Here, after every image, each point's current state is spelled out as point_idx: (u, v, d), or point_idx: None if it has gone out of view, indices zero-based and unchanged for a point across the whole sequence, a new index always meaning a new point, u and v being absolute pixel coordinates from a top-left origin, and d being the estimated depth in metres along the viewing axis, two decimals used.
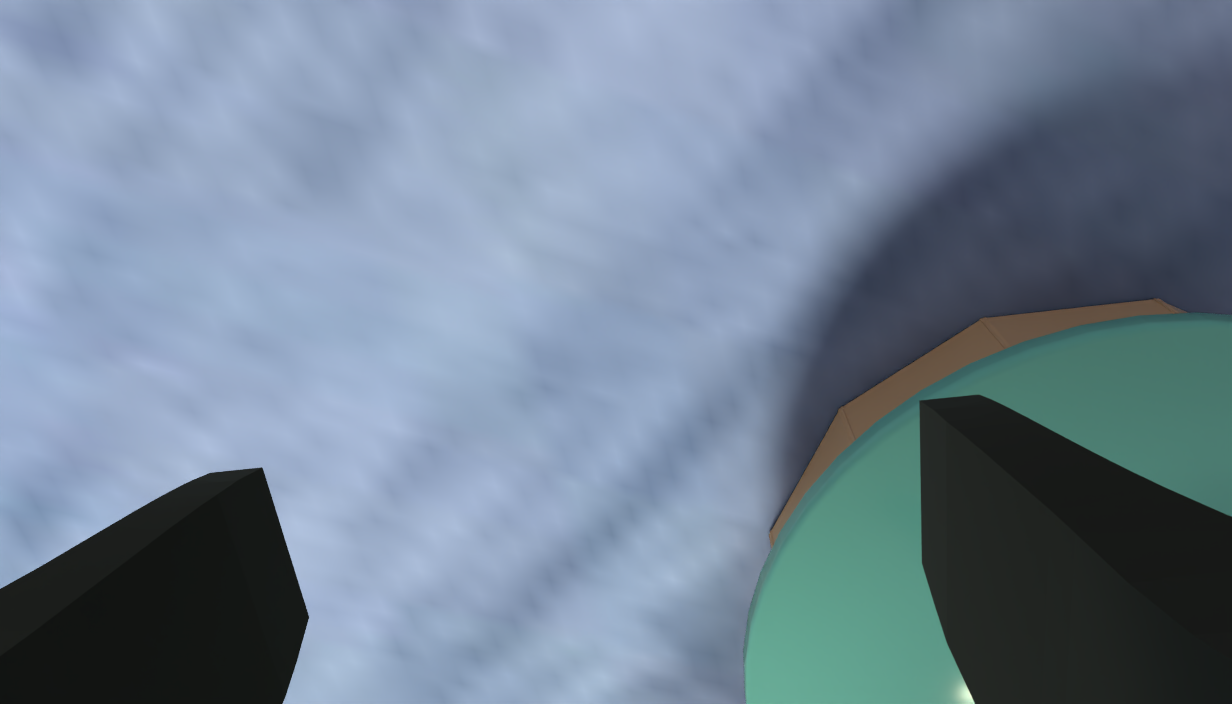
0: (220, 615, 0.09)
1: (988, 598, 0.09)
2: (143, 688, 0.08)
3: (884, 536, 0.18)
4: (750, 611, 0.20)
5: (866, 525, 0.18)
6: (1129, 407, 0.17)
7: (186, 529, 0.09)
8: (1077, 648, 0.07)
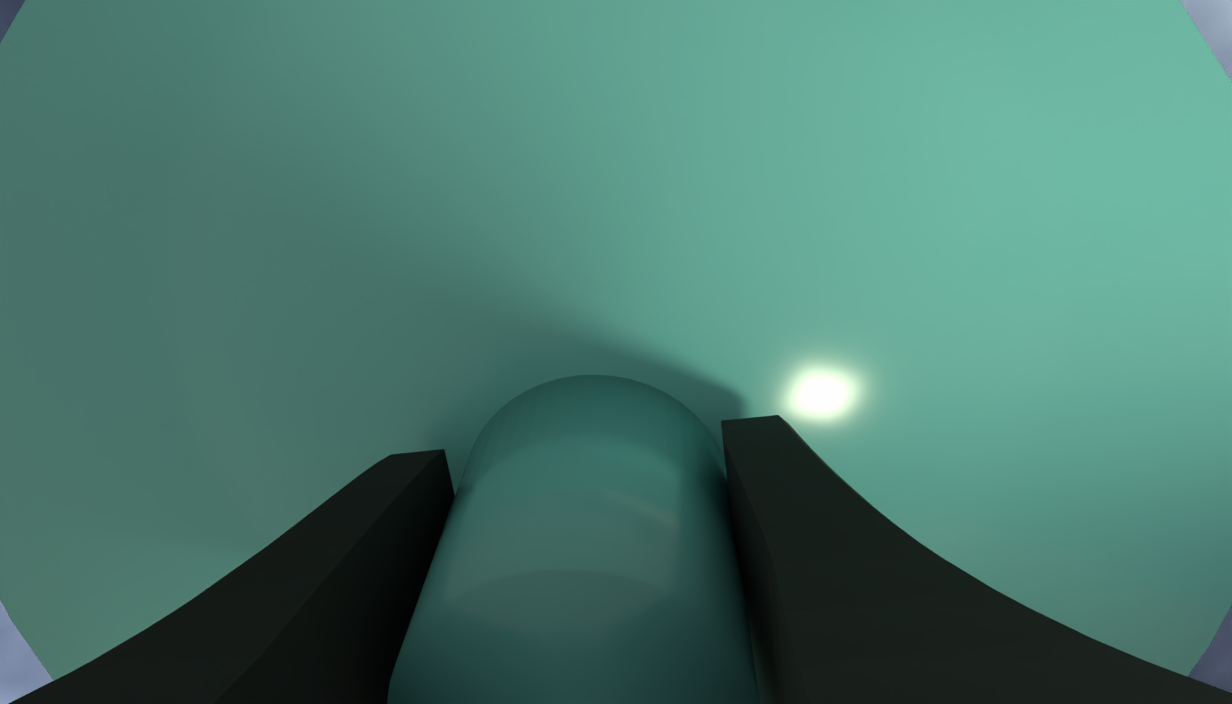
0: None
1: (753, 617, 0.09)
2: (374, 669, 0.08)
3: None
4: None
5: None
6: (93, 575, 0.12)
7: (399, 508, 0.09)
8: (782, 672, 0.07)
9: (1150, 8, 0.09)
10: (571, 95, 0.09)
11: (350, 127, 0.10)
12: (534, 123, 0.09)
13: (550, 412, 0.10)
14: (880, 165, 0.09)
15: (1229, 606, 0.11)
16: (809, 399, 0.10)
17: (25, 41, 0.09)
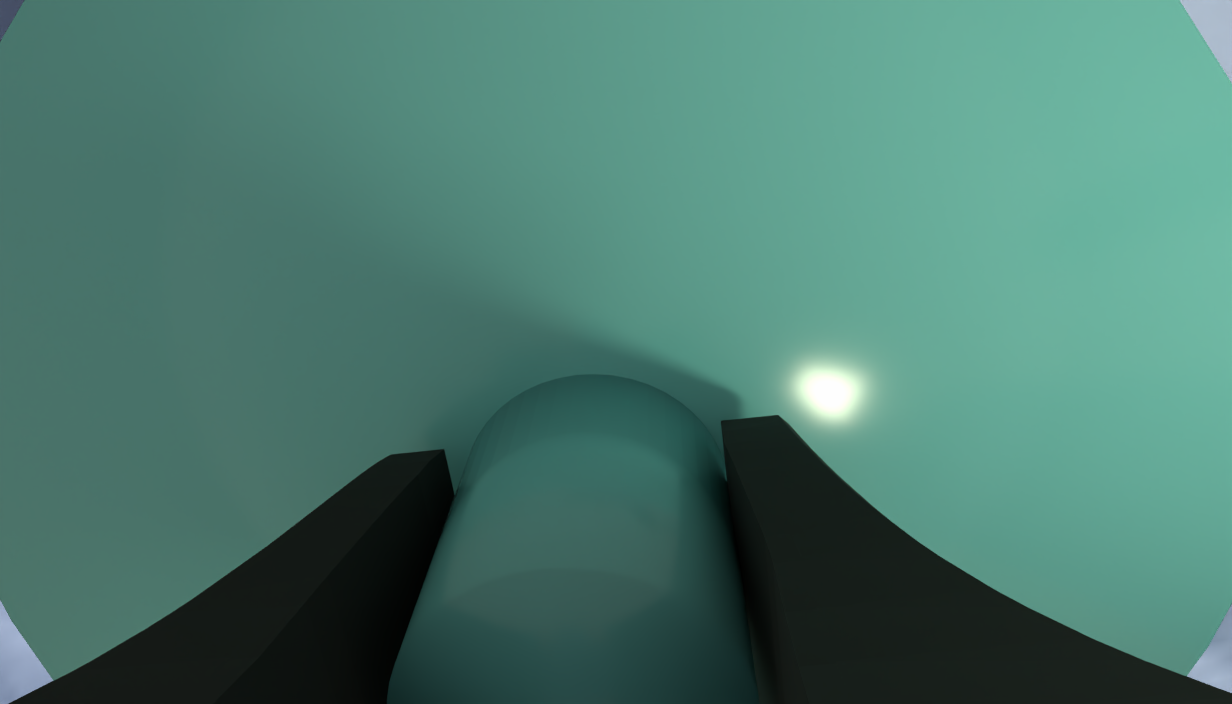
0: None
1: (755, 618, 0.09)
2: (374, 669, 0.08)
3: None
4: None
5: None
6: (94, 574, 0.12)
7: (399, 508, 0.09)
8: (783, 672, 0.07)
9: (1149, 7, 0.09)
10: (570, 95, 0.09)
11: (350, 127, 0.10)
12: (535, 123, 0.09)
13: (549, 412, 0.10)
14: (879, 164, 0.09)
15: (1229, 605, 0.11)
16: (808, 398, 0.10)
17: (24, 41, 0.09)
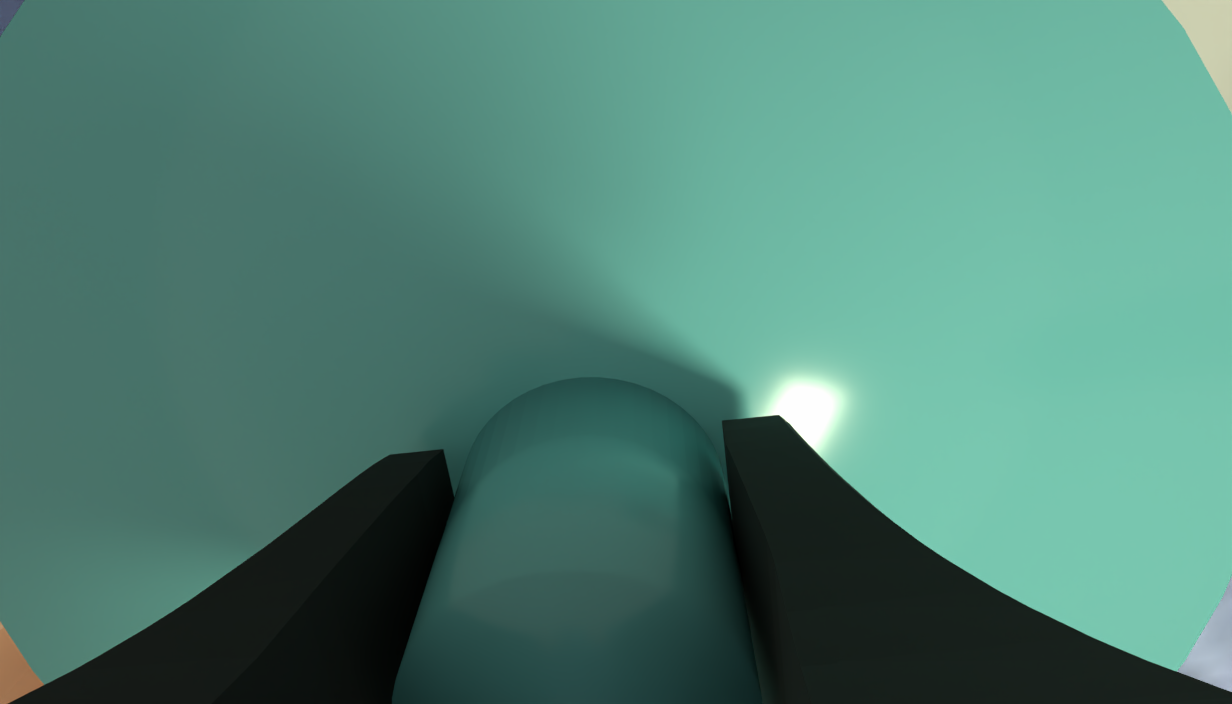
0: None
1: (755, 618, 0.09)
2: (372, 669, 0.08)
3: None
4: None
5: None
6: (80, 564, 0.12)
7: (398, 509, 0.09)
8: (784, 672, 0.07)
9: (1156, 36, 0.09)
10: (587, 99, 0.09)
11: (364, 122, 0.10)
12: (549, 126, 0.09)
13: (554, 413, 0.10)
14: (889, 179, 0.10)
15: (1206, 621, 0.12)
16: (808, 408, 0.11)
17: (35, 22, 0.09)
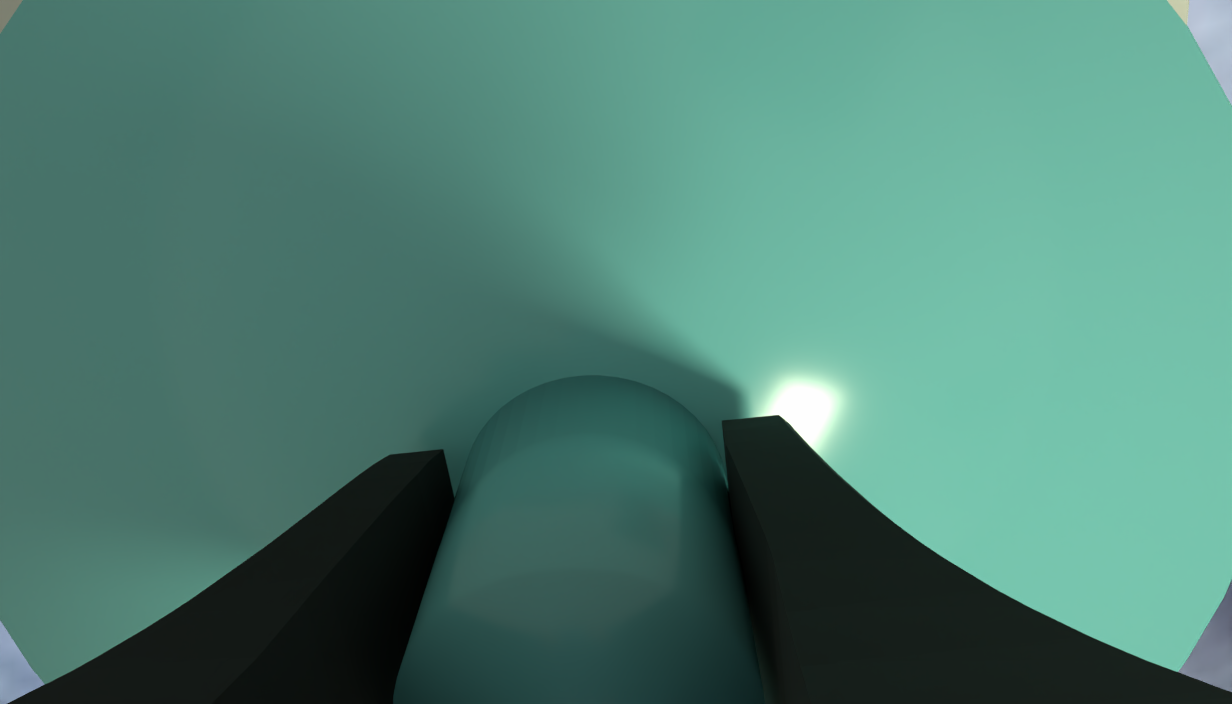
0: (422, 597, 0.09)
1: (755, 618, 0.09)
2: (373, 669, 0.08)
3: None
4: None
5: None
6: (79, 560, 0.12)
7: (398, 508, 0.09)
8: (783, 672, 0.07)
9: (1161, 36, 0.09)
10: (590, 96, 0.09)
11: (367, 118, 0.09)
12: (553, 122, 0.09)
13: (556, 411, 0.10)
14: (893, 178, 0.10)
15: (1207, 622, 0.12)
16: (810, 407, 0.11)
17: (37, 17, 0.09)
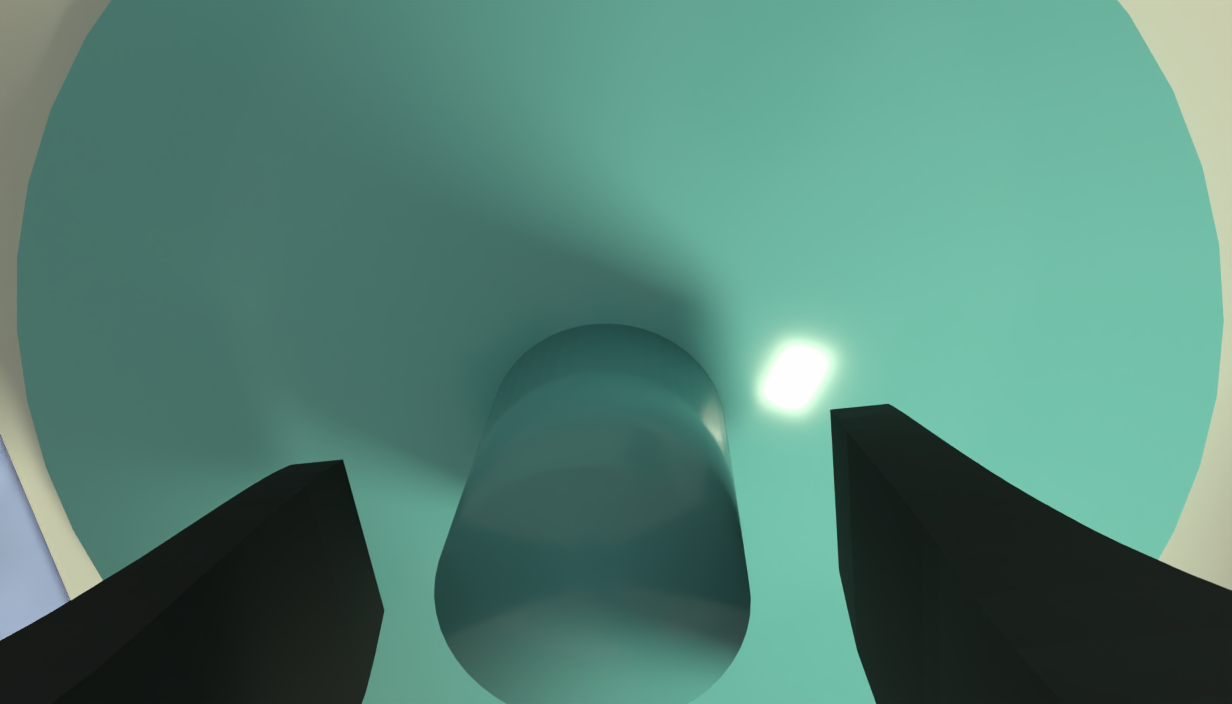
0: (310, 607, 0.09)
1: (882, 607, 0.09)
2: (245, 679, 0.08)
3: None
4: None
5: None
6: (152, 489, 0.13)
7: (280, 520, 0.09)
8: (944, 659, 0.07)
9: (1106, 23, 0.10)
10: (605, 75, 0.11)
11: (411, 93, 0.11)
12: (572, 99, 0.11)
13: (574, 352, 0.11)
14: (870, 148, 0.11)
15: (1159, 555, 0.13)
16: (799, 353, 0.12)
17: (129, 5, 0.11)
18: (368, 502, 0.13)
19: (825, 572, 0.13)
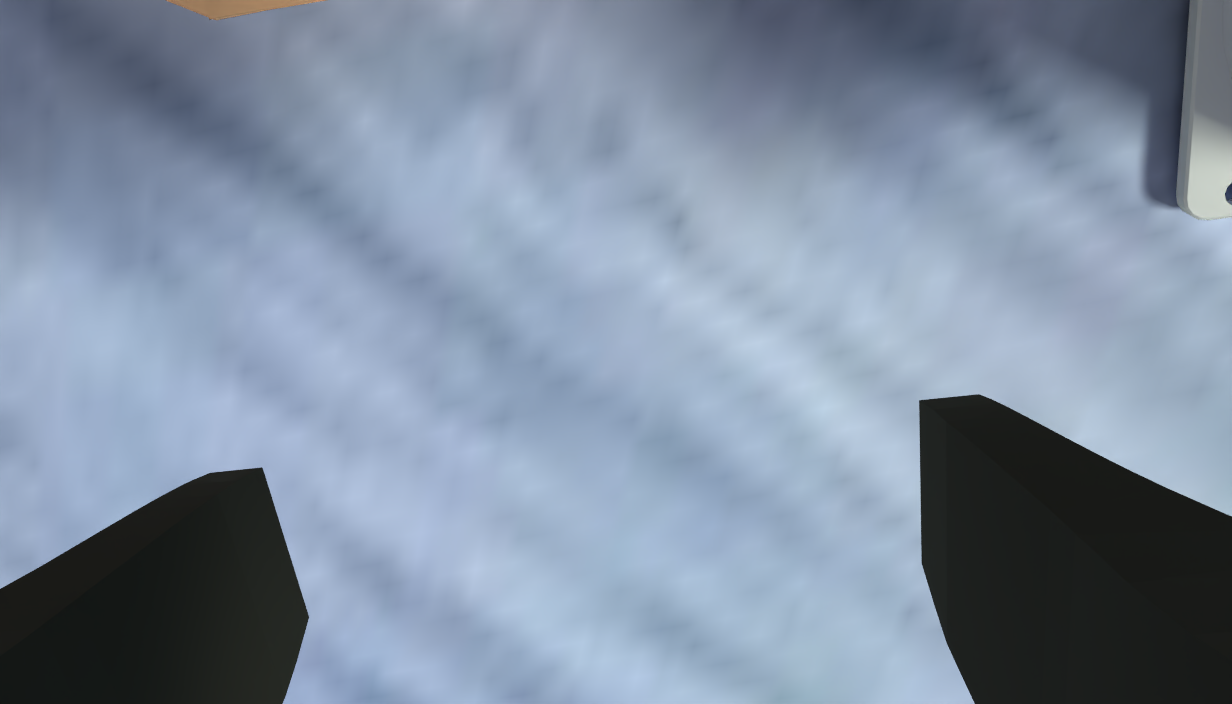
0: (220, 615, 0.09)
1: (988, 598, 0.09)
2: (143, 688, 0.08)
3: None
4: None
5: None
6: None
7: (186, 529, 0.09)
8: (1077, 648, 0.07)
9: None
10: None
11: None
12: None
13: None
14: None
15: None
16: None
17: None
18: None
19: None
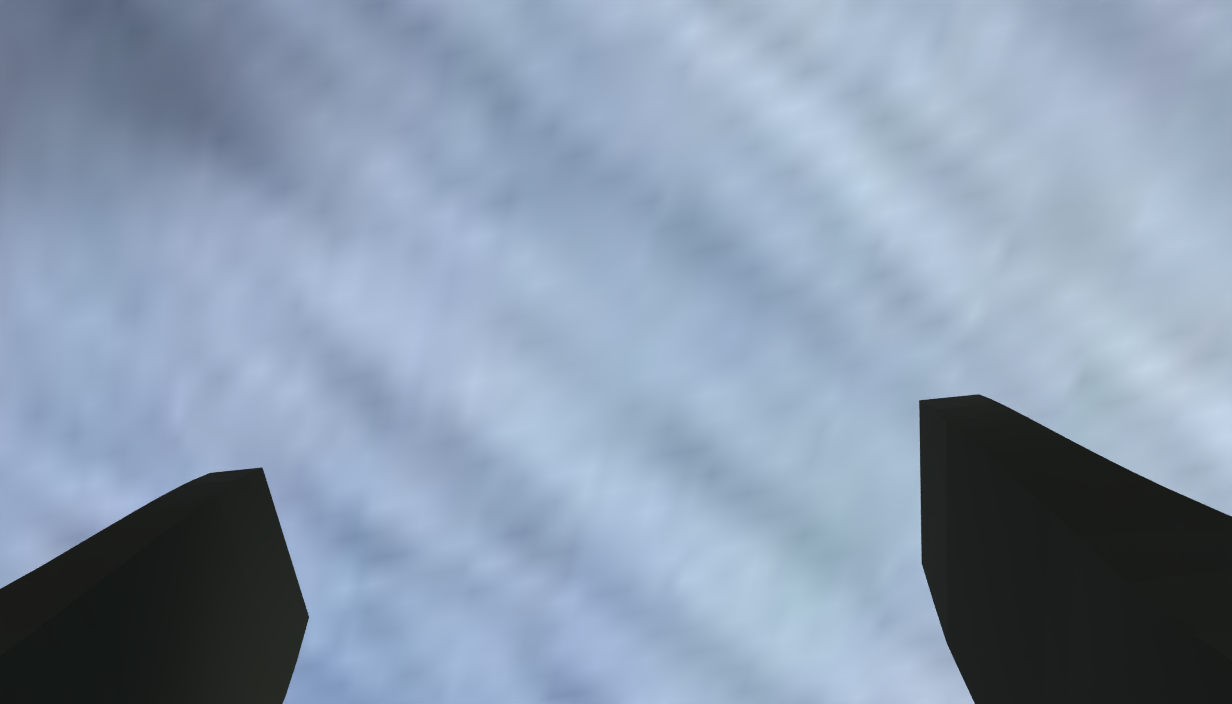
0: (220, 615, 0.09)
1: (988, 599, 0.09)
2: (143, 688, 0.08)
3: None
4: None
5: None
6: None
7: (186, 529, 0.09)
8: (1077, 648, 0.07)
9: None
10: None
11: None
12: None
13: None
14: None
15: None
16: None
17: None
18: None
19: None
